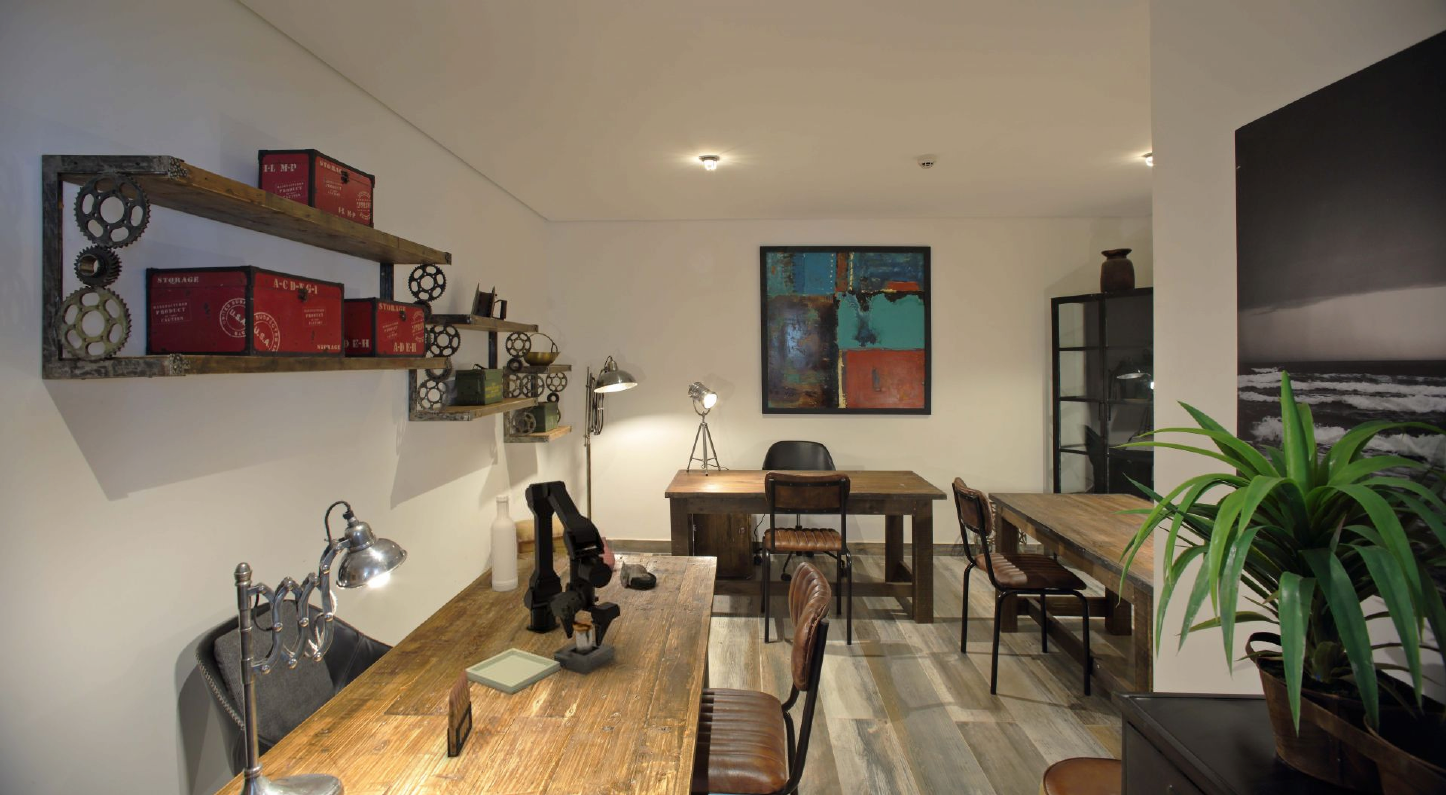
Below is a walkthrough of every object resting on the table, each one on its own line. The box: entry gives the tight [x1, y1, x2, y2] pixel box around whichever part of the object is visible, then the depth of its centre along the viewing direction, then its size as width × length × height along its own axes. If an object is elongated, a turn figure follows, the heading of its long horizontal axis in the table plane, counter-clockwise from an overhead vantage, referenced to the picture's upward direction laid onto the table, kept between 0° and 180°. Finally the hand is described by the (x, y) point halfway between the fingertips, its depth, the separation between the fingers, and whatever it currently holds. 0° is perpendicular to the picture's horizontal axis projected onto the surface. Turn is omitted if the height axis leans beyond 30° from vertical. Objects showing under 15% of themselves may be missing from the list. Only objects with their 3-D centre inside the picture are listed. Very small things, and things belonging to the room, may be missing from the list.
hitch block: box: [553, 639, 616, 676], centre depth 160 cm, size 10×10×3 cm
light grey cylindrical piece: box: [573, 618, 595, 656], centre depth 160 cm, size 5×5×10 cm
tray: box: [465, 647, 561, 696], centre depth 154 cm, size 16×14×2 cm
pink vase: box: [599, 536, 616, 571], centre depth 231 cm, size 8×8×12 cm
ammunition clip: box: [446, 667, 473, 758], centre depth 126 cm, size 11×2×12 cm, turn 7°
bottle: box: [490, 494, 519, 593], centre depth 215 cm, size 8×8×30 cm
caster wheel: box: [619, 560, 658, 591], centre depth 215 cm, size 7×11×10 cm
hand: (584, 642), depth 160 cm, fingers open, 9 cm apart
